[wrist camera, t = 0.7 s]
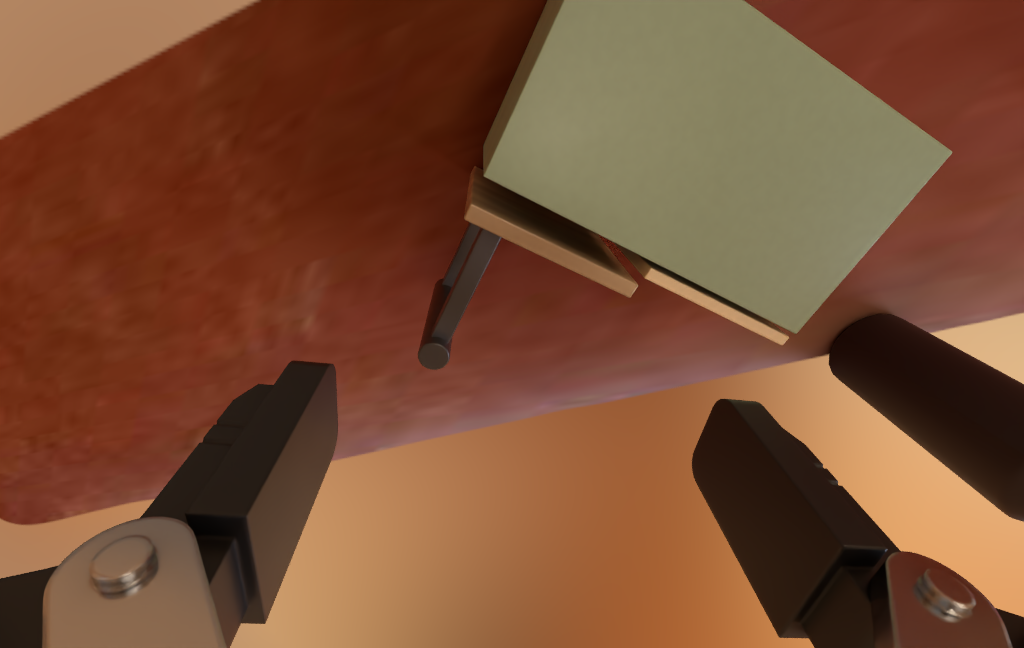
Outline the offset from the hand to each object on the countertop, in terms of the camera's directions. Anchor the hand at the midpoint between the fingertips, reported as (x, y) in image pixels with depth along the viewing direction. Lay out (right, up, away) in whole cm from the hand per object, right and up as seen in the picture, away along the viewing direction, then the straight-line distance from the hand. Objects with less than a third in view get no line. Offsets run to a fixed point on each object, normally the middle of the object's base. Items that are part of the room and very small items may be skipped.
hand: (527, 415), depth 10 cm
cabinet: (+8, +14, +21) cm, 26 cm away
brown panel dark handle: (-1, +7, +23) cm, 24 cm away
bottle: (+30, 0, +30) cm, 42 cm away
